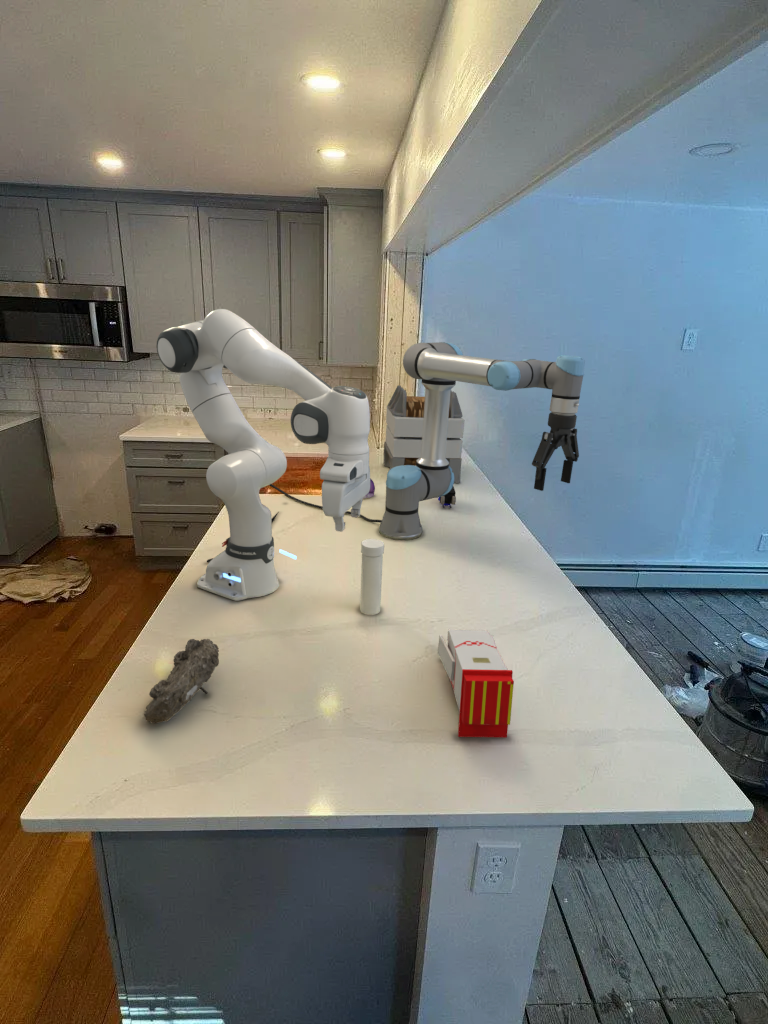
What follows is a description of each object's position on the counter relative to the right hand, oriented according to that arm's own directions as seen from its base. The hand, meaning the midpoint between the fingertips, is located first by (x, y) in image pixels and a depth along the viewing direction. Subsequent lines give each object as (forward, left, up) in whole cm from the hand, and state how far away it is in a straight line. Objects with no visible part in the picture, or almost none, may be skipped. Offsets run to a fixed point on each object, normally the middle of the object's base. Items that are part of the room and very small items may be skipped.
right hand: (552, 485), depth 166 cm
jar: (-13, -57, -28) cm, 65 cm away
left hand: (-8, -69, +1) cm, 70 cm away
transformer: (-101, +46, -28) cm, 115 cm away
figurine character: (-61, +23, -28) cm, 71 cm away
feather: (-88, -40, -28) cm, 101 cm away
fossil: (-9, -107, -28) cm, 111 cm away
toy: (+26, -62, -28) cm, 72 cm away
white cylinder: (-13, -57, -9) cm, 59 cm away
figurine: (-88, +2, -28) cm, 93 cm away
